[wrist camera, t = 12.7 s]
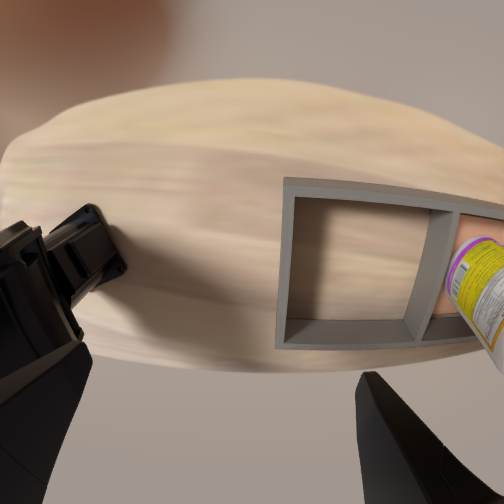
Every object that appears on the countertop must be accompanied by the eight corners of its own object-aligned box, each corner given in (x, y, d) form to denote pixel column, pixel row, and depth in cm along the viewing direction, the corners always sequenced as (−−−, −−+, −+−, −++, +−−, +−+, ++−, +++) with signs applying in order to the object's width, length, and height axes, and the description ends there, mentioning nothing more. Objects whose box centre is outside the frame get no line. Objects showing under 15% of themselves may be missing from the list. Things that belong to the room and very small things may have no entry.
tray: (276, 324, 23) (273, 368, 18) (283, 176, 18) (284, 192, 13) (494, 318, 21) (517, 347, 16) (529, 211, 16) (562, 230, 12)
